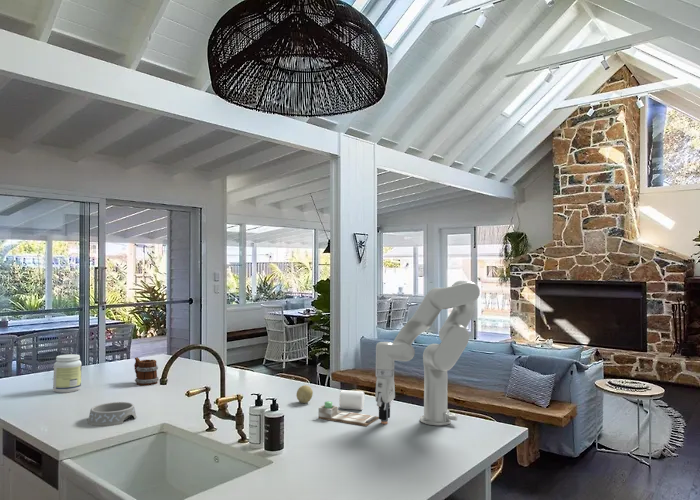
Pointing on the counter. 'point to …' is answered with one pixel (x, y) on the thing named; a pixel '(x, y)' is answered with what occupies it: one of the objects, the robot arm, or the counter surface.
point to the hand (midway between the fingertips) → (384, 418)
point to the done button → (328, 404)
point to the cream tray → (345, 416)
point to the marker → (387, 415)
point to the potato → (304, 394)
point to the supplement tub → (67, 373)
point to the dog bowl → (111, 413)
